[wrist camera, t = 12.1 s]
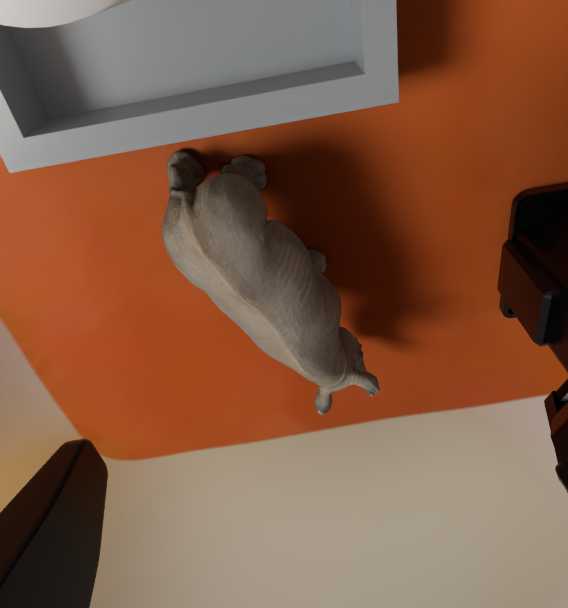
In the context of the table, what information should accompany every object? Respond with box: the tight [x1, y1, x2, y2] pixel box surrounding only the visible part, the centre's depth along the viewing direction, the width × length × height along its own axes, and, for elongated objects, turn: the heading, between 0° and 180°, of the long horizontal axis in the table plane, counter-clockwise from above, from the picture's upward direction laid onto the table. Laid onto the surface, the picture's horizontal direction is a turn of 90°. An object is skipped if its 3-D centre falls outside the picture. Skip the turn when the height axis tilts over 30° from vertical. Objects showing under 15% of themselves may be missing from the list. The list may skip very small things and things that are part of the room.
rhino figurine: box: [162, 151, 380, 415], centre depth 20 cm, size 4×14×6 cm, turn 34°
